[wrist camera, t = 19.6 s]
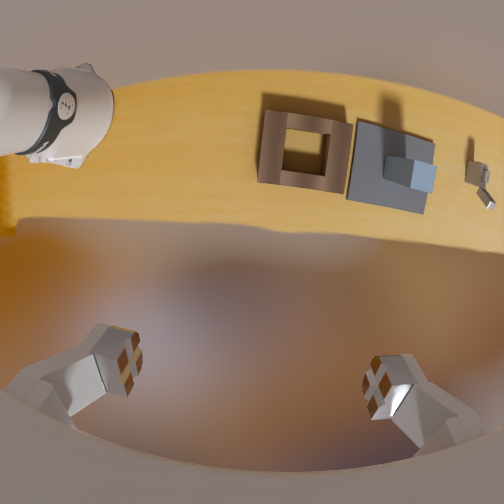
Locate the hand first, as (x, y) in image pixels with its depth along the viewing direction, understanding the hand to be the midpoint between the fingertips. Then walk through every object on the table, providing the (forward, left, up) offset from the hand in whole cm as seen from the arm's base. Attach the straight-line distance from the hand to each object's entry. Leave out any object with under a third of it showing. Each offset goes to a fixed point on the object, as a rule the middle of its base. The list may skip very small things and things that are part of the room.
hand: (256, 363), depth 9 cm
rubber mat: (+20, +7, -34) cm, 40 cm away
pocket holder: (+5, +7, -34) cm, 35 cm away
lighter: (+36, +9, -34) cm, 51 cm away
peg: (+19, +7, -34) cm, 39 cm away
